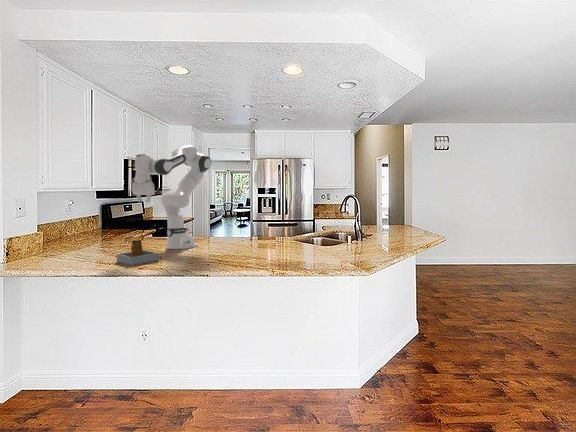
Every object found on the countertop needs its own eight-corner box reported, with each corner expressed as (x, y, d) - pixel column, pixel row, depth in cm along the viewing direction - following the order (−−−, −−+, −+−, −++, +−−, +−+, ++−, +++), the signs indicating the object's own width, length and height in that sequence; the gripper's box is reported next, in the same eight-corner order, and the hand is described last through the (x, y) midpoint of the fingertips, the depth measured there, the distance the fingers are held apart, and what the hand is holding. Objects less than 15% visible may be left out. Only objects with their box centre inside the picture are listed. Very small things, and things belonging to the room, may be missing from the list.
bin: (143, 257, 266) (143, 250, 265) (159, 261, 255) (159, 253, 255) (116, 262, 253) (116, 254, 252) (132, 265, 242) (131, 257, 241)
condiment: (133, 259, 257) (132, 239, 256) (147, 259, 257) (147, 239, 256) (129, 261, 250) (128, 241, 249) (143, 261, 250) (143, 241, 249)
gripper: (156, 179, 265) (157, 202, 266) (138, 180, 278) (139, 201, 279) (147, 180, 260) (148, 202, 261) (129, 180, 273) (130, 201, 274)
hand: (144, 202), depth 270 cm, fingers open, 8 cm apart
